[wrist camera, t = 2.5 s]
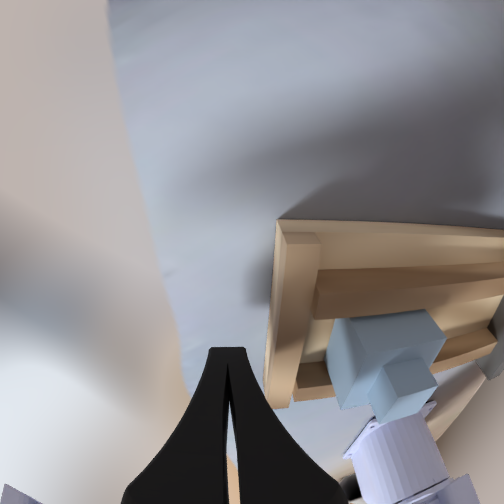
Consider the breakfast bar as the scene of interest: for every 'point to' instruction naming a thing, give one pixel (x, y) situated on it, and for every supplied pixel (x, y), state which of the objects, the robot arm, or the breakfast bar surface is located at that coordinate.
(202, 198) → the breakfast bar surface
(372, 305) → the track
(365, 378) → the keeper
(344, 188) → the breakfast bar surface
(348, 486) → the tube
